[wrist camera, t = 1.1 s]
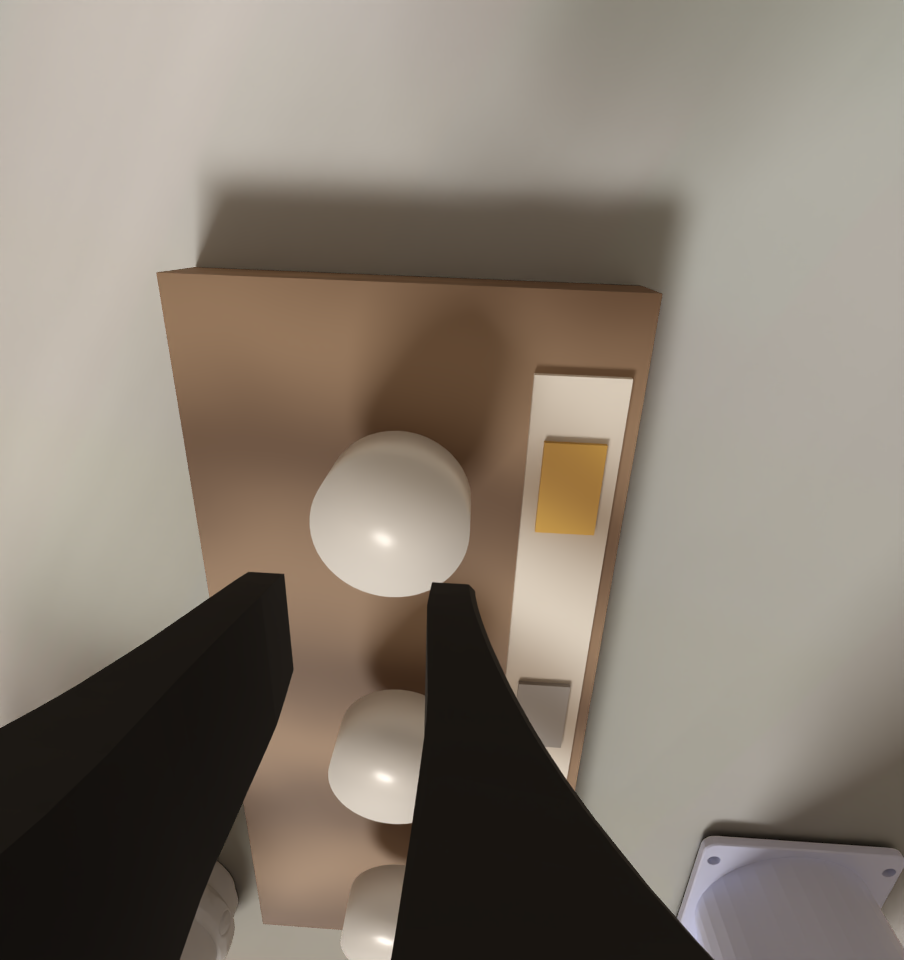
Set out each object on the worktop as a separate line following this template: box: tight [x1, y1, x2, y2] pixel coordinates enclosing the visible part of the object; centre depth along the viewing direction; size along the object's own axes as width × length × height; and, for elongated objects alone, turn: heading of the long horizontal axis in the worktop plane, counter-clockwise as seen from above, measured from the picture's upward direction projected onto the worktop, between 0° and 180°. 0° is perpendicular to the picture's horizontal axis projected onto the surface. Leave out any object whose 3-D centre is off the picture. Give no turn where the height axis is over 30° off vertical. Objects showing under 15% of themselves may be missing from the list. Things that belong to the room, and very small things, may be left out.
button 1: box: [341, 864, 406, 960], centre depth 20 cm, size 4×4×2 cm
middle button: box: [328, 690, 425, 824], centre depth 17 cm, size 4×4×2 cm
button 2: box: [310, 431, 471, 597], centre depth 14 cm, size 4×4×2 cm
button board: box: [157, 267, 662, 930], centre depth 20 cm, size 26×12×2 cm, turn 178°
